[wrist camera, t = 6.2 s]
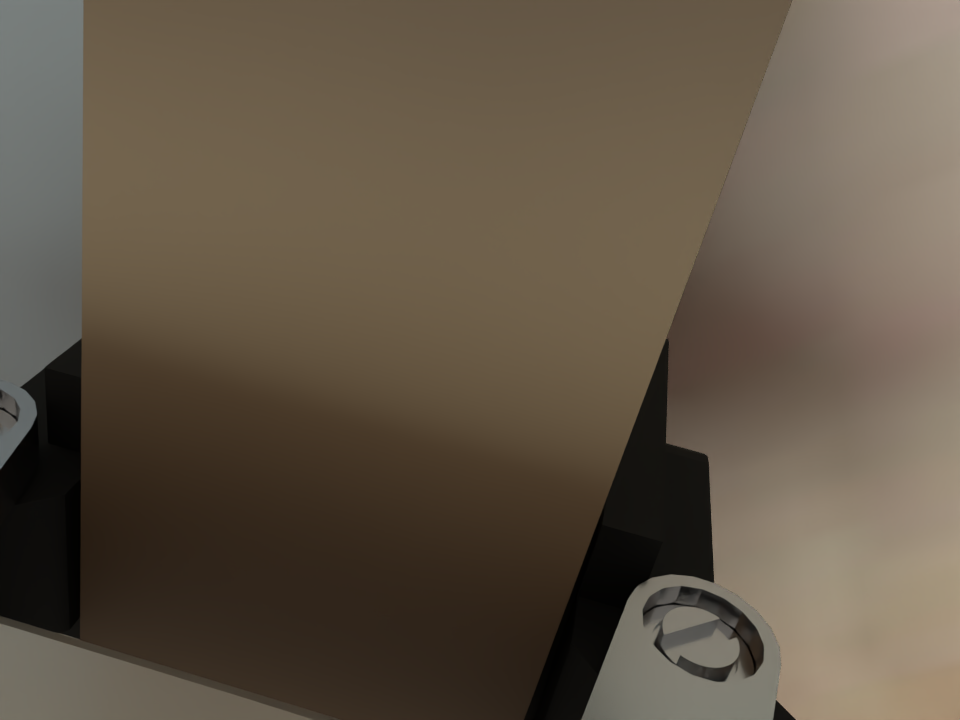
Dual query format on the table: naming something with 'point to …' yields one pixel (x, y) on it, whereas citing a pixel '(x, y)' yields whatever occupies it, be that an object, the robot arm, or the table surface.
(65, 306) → the mat
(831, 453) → the table surface
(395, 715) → the brown wooden block
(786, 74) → the table surface
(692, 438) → the table surface
